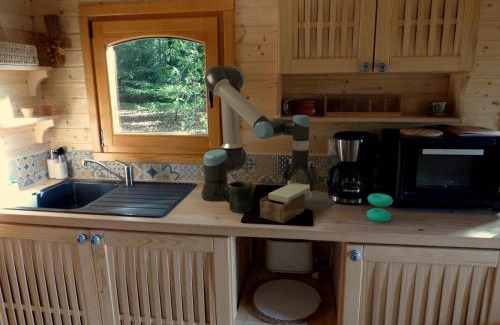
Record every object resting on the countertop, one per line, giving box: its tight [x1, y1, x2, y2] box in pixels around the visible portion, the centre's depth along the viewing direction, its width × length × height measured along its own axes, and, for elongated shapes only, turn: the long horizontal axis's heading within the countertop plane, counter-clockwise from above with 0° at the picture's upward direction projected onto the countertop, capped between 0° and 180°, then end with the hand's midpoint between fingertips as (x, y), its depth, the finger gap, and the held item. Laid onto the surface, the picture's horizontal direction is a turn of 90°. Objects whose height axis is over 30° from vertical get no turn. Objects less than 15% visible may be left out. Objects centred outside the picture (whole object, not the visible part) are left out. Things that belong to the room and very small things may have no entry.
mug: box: [222, 180, 254, 214], centre depth 161 cm, size 11×15×12 cm
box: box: [259, 194, 306, 224], centre depth 156 cm, size 12×18×8 cm, turn 144°
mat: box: [305, 190, 337, 213], centre depth 173 cm, size 18×26×1 cm
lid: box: [267, 181, 308, 203], centre depth 160 cm, size 10×22×2 cm, turn 144°
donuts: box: [366, 193, 394, 223], centre depth 150 cm, size 10×10×10 cm
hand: (299, 195), depth 167 cm, fingers closed on lid, 10 cm apart
